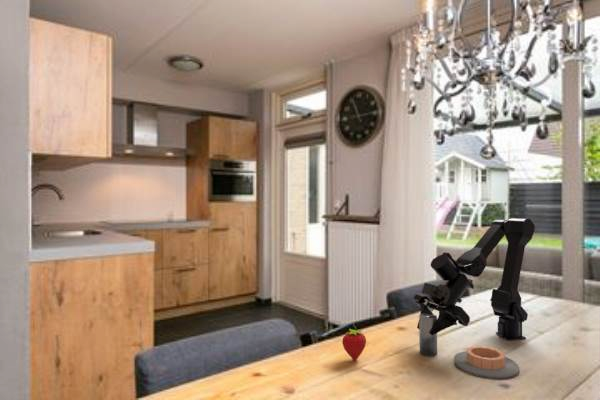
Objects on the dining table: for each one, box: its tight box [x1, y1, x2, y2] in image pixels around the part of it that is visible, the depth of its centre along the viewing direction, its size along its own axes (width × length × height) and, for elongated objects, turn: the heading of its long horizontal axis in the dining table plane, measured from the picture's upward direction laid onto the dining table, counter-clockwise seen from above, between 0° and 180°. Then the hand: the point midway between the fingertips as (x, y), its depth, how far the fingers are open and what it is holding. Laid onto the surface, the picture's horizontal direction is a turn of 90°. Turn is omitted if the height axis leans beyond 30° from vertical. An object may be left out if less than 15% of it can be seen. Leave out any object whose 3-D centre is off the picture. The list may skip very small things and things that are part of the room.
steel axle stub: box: [418, 313, 438, 357], centre depth 115 cm, size 5×5×11 cm
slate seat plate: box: [453, 345, 520, 380], centre depth 106 cm, size 16×16×4 cm
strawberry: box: [342, 325, 367, 361], centre depth 111 cm, size 6×8×10 cm
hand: (424, 331), depth 115 cm, fingers closed on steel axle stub, 5 cm apart
